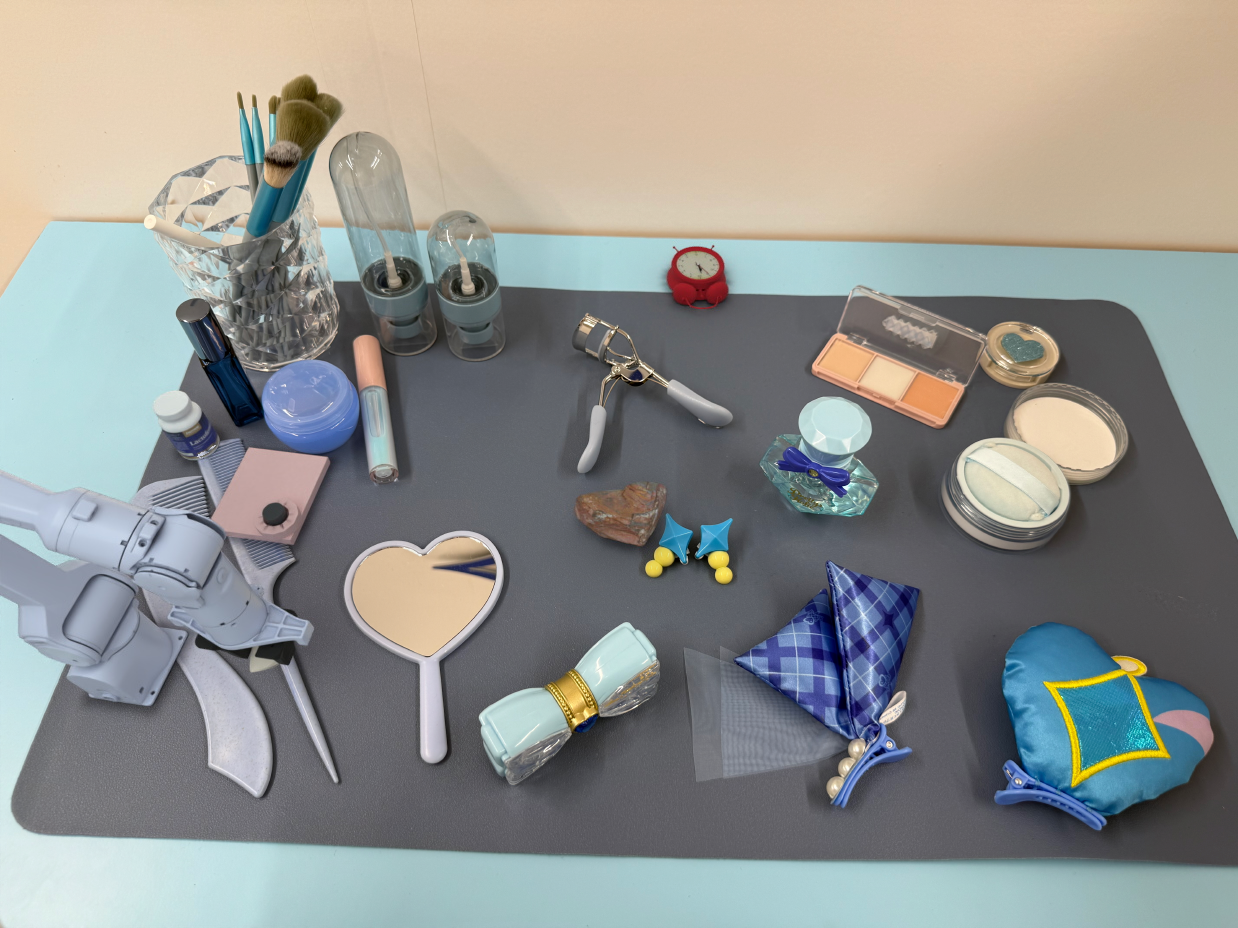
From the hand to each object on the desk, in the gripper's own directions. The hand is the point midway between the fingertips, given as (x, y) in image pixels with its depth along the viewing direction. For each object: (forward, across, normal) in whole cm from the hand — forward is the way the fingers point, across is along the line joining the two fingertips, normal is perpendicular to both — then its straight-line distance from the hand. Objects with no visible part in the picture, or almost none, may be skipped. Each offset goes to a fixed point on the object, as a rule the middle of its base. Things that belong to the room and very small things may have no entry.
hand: (269, 653), depth 87 cm
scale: (+8, +13, -25) cm, 29 cm away
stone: (+8, -37, -26) cm, 46 cm away
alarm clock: (+8, -42, -78) cm, 89 cm away
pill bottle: (+9, +27, -32) cm, 43 cm away
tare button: (+6, +10, -20) cm, 23 cm away
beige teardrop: (+2, 0, 0) cm, 2 cm away
